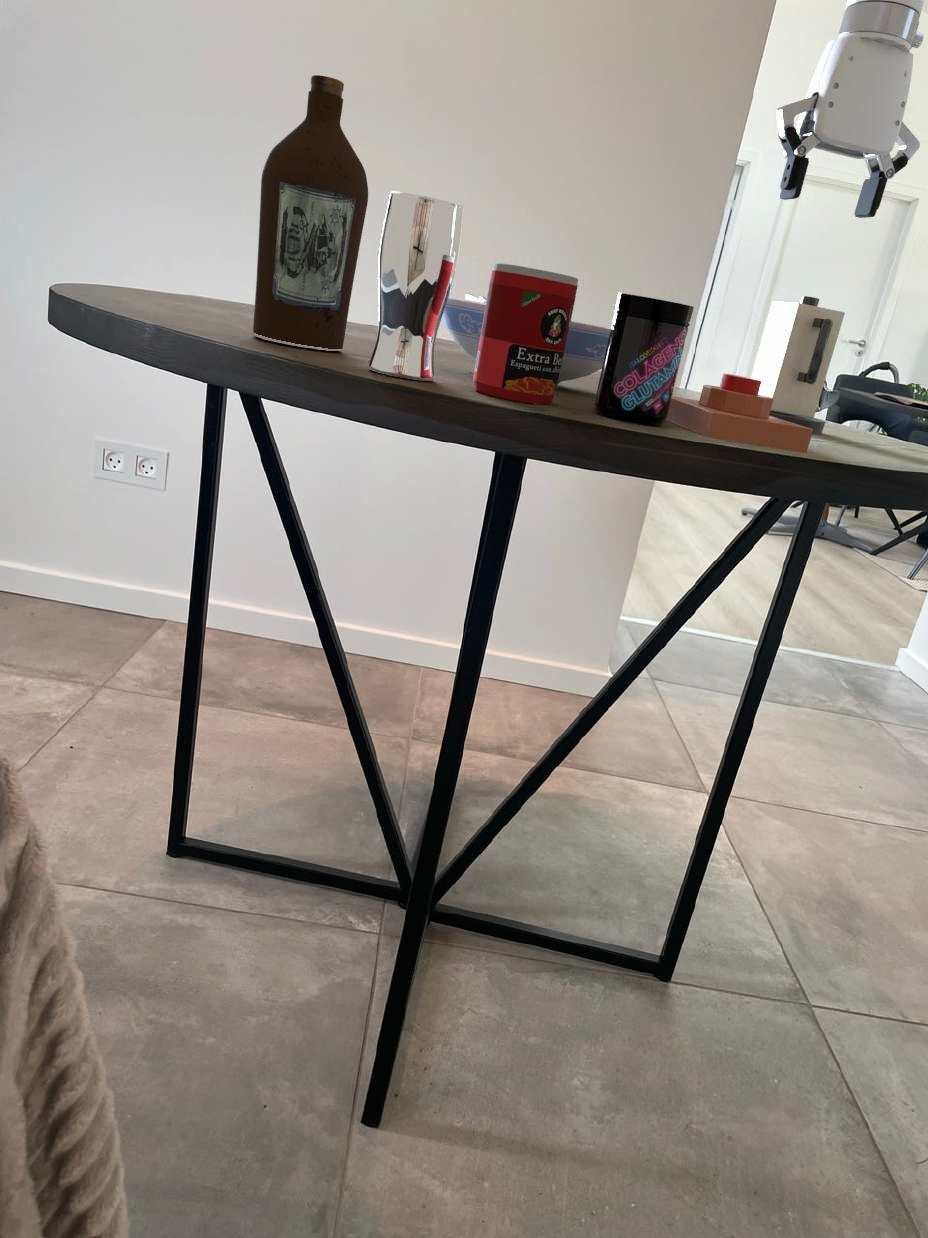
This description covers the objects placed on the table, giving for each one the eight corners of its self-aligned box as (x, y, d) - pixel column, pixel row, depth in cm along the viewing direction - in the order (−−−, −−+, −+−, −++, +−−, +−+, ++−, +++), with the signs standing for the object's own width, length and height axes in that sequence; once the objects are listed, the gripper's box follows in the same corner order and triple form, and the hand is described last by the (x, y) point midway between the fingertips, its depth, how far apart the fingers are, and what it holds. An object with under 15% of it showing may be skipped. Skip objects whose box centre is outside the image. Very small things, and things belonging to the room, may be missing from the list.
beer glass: (408, 372, 90) (434, 206, 85) (453, 385, 85) (483, 210, 80) (348, 365, 85) (372, 189, 81) (392, 378, 81) (420, 193, 76)
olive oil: (245, 331, 101) (269, 75, 93) (341, 347, 104) (373, 100, 96) (247, 340, 92) (275, 55, 83) (353, 357, 95) (390, 83, 86)
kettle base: (713, 410, 115) (716, 398, 115) (791, 423, 118) (794, 412, 117) (756, 425, 105) (759, 411, 105) (840, 439, 108) (844, 426, 107)
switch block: (744, 430, 95) (755, 391, 94) (806, 453, 84) (819, 409, 83) (655, 416, 93) (664, 375, 91) (707, 437, 82) (719, 391, 80)
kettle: (736, 400, 115) (765, 291, 111) (778, 407, 117) (809, 300, 112) (779, 413, 105) (813, 294, 101) (825, 421, 107) (861, 304, 103)
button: (745, 396, 89) (750, 377, 89) (763, 401, 86) (769, 382, 85) (711, 390, 88) (716, 371, 88) (729, 395, 85) (734, 376, 84)
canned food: (507, 401, 80) (532, 267, 76) (453, 385, 86) (474, 259, 82) (571, 408, 84) (598, 281, 81) (516, 392, 90) (539, 273, 87)
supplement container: (589, 415, 81) (616, 291, 78) (593, 409, 87) (618, 294, 84) (665, 431, 80) (696, 306, 77) (664, 424, 87) (693, 308, 83)
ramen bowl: (641, 410, 96) (660, 328, 93) (422, 370, 94) (436, 286, 92) (603, 387, 119) (618, 322, 117) (428, 355, 118) (439, 288, 115)
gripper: (922, 61, 103) (872, 224, 109) (786, 21, 99) (741, 193, 105) (968, 47, 97) (913, 222, 102) (824, 3, 92) (775, 188, 98)
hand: (826, 207), depth 103 cm, fingers open, 9 cm apart
